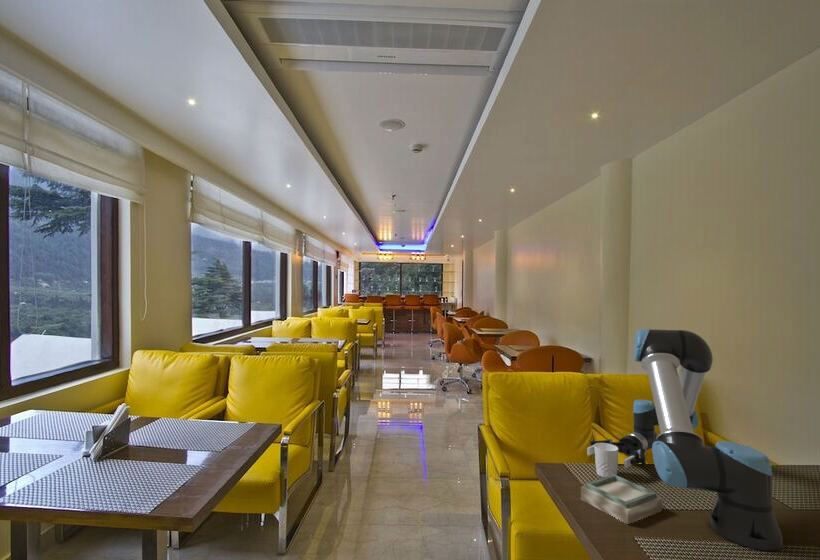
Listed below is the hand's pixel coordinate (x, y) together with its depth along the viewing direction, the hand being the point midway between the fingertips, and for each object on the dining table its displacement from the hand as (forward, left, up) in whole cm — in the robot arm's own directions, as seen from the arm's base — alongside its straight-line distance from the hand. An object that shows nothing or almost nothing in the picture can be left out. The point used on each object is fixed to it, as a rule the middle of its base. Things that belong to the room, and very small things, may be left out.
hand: (605, 457), depth 145 cm
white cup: (0, 0, -6) cm, 6 cm away
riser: (-16, +15, -6) cm, 23 cm away
